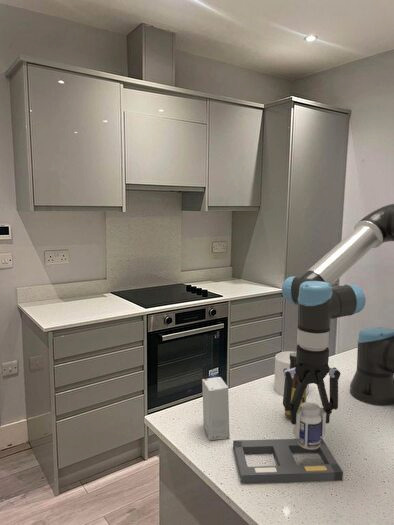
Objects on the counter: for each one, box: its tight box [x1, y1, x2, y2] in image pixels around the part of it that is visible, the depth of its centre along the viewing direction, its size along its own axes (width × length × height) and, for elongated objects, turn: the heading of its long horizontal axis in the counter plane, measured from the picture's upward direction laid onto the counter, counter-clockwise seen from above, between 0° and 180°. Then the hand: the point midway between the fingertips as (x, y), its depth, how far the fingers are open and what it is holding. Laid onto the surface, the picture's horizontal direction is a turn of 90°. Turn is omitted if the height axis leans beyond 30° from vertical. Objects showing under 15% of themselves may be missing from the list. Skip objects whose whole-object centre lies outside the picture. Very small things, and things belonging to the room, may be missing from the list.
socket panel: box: [232, 437, 344, 485], centre depth 101 cm, size 24×14×2 cm, turn 93°
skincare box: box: [201, 376, 230, 441], centre depth 115 cm, size 8×6×15 cm
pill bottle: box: [297, 401, 322, 450], centre depth 100 cm, size 6×6×10 cm
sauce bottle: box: [284, 351, 307, 421], centre depth 122 cm, size 7×6×20 cm
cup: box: [273, 351, 310, 397], centre depth 141 cm, size 12×12×12 cm
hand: (308, 434), depth 101 cm, fingers closed on pill bottle, 6 cm apart
